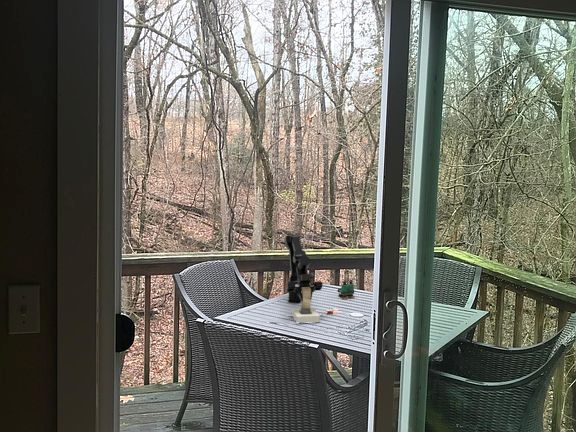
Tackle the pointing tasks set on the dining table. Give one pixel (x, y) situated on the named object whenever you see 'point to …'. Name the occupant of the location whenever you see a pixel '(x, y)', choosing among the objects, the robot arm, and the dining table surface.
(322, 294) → the dining table surface
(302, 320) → the square ring frame
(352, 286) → the green boxy toy
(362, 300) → the dining table surface
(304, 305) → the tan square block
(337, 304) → the dining table surface
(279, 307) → the dining table surface
